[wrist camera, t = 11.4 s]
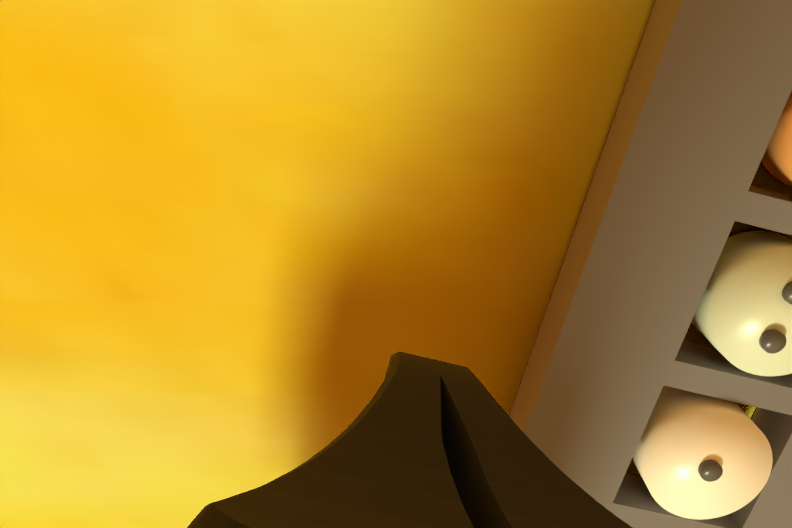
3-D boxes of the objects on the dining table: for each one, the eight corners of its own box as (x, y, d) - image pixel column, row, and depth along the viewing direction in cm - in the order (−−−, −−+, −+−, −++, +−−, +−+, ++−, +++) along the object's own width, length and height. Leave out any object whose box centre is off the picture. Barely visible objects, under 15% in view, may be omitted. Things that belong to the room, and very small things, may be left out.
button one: (713, 489, 24) (744, 534, 22) (609, 466, 24) (629, 509, 22) (759, 395, 23) (797, 433, 21) (649, 369, 23) (676, 405, 20)
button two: (778, 357, 22) (818, 392, 20) (666, 330, 22) (695, 362, 20) (832, 247, 21) (881, 272, 19) (714, 217, 21) (750, 238, 19)
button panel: (744, 528, 25) (772, 568, 23) (489, 471, 24) (496, 508, 23) (1000, 36, 19) (1065, 37, 17) (674, -55, 19) (705, -65, 17)
